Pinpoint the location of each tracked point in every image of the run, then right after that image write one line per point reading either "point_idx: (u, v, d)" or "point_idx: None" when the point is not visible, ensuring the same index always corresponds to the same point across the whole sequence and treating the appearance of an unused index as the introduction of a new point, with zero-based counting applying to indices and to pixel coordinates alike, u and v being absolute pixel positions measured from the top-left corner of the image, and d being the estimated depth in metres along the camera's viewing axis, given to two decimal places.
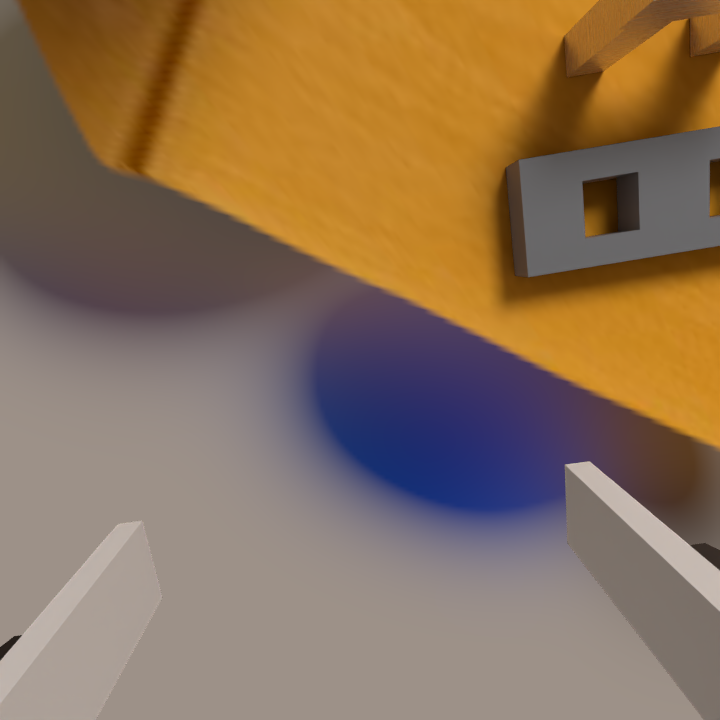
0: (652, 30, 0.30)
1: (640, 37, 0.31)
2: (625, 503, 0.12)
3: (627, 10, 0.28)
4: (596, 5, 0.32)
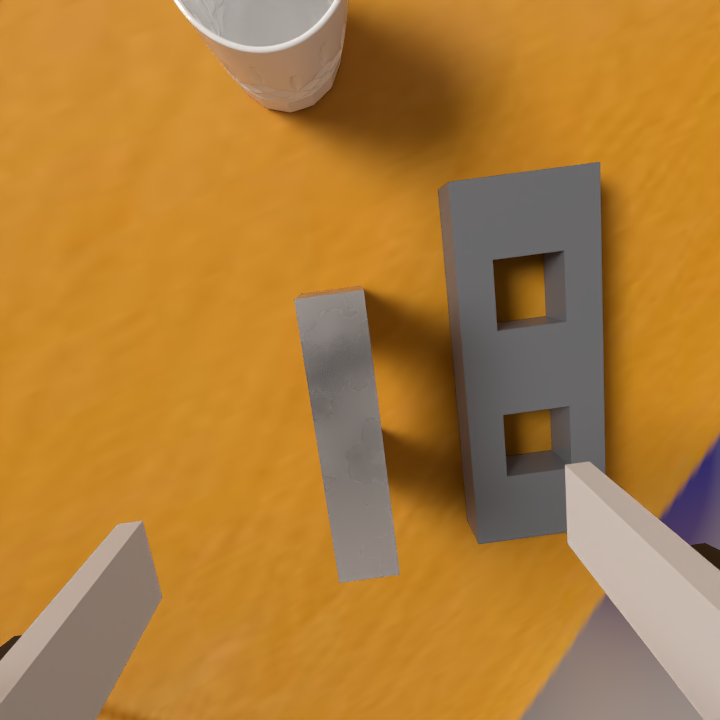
0: None
1: None
2: (625, 503, 0.12)
3: None
4: None
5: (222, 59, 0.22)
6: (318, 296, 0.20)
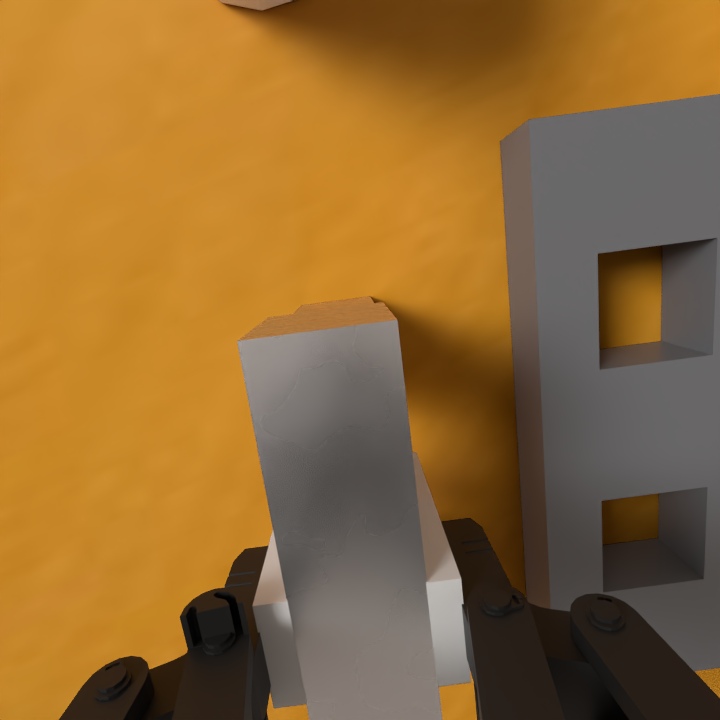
0: None
1: None
2: (417, 486, 0.14)
3: None
4: None
5: None
6: (293, 334, 0.09)
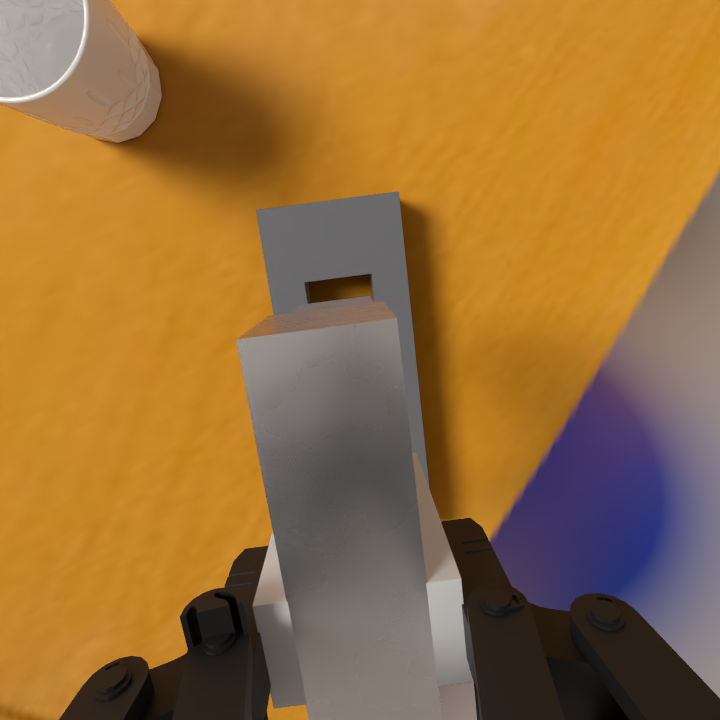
0: None
1: None
2: (417, 486, 0.14)
3: None
4: None
5: None
6: (292, 333, 0.09)
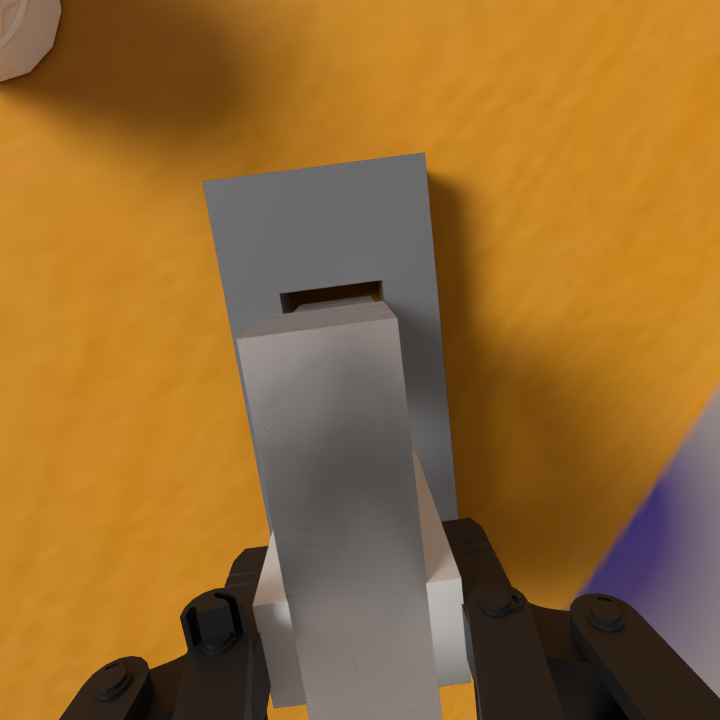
0: None
1: None
2: (417, 486, 0.14)
3: None
4: None
5: None
6: (293, 333, 0.09)
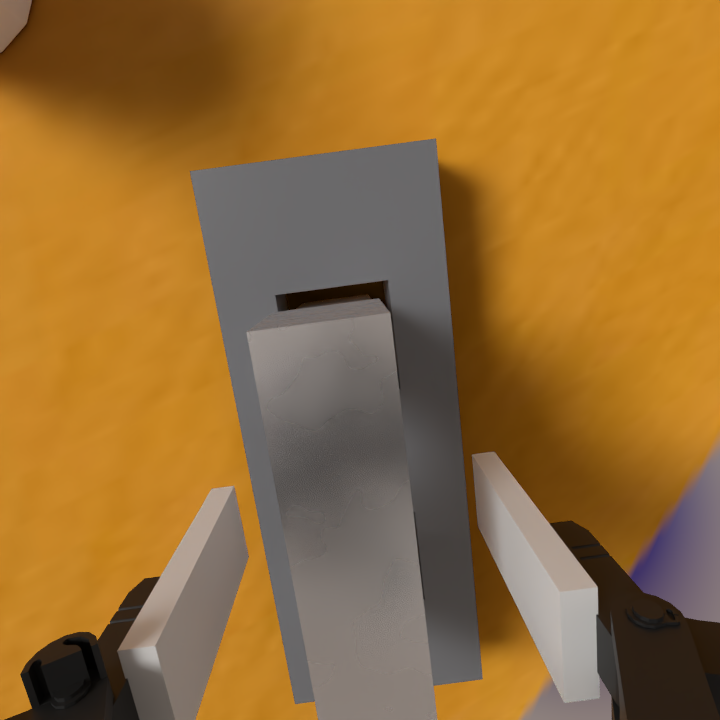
0: None
1: None
2: (509, 487, 0.13)
3: None
4: None
5: None
6: (296, 326, 0.10)
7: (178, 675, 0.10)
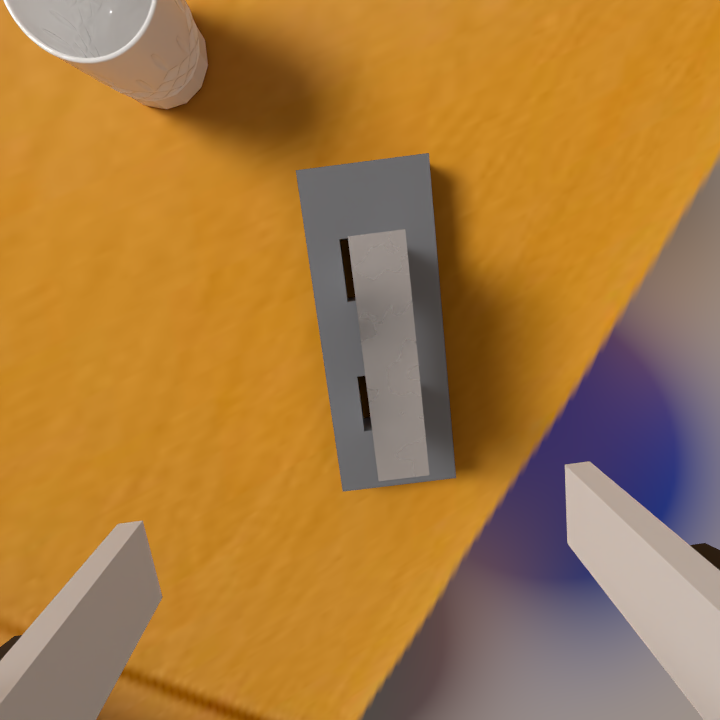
0: None
1: None
2: (625, 503, 0.12)
3: None
4: None
5: None
6: (367, 234, 0.24)
7: None
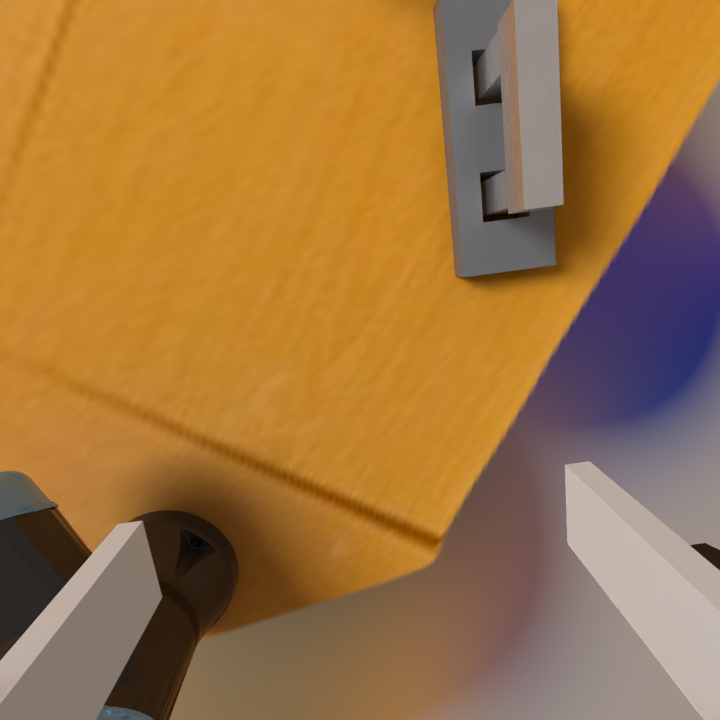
0: None
1: None
2: (625, 503, 0.12)
3: None
4: (497, 211, 0.41)
5: None
6: None
7: None
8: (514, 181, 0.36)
